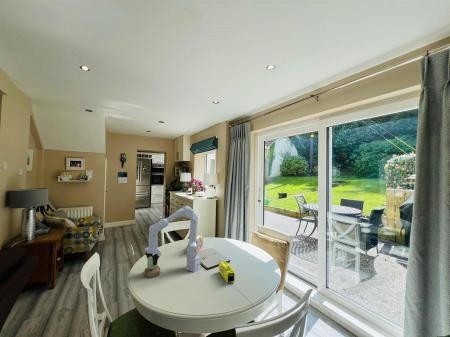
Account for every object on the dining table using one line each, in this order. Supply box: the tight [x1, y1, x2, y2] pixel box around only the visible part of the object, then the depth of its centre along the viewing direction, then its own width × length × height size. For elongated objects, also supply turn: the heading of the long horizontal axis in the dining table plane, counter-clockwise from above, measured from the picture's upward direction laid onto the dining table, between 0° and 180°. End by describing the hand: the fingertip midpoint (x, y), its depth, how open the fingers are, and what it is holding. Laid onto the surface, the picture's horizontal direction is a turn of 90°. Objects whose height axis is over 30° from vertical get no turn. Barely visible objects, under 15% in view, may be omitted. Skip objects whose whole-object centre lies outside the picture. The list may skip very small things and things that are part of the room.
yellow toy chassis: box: [218, 261, 236, 284], centre depth 133 cm, size 16×6×8 cm, turn 21°
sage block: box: [146, 256, 159, 268], centre depth 134 cm, size 4×4×6 cm
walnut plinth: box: [143, 265, 161, 279], centre depth 134 cm, size 10×10×3 cm
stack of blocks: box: [196, 234, 204, 253], centre depth 176 cm, size 21×6×12 cm, turn 174°
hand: (152, 264), depth 134 cm, fingers closed on sage block, 4 cm apart
